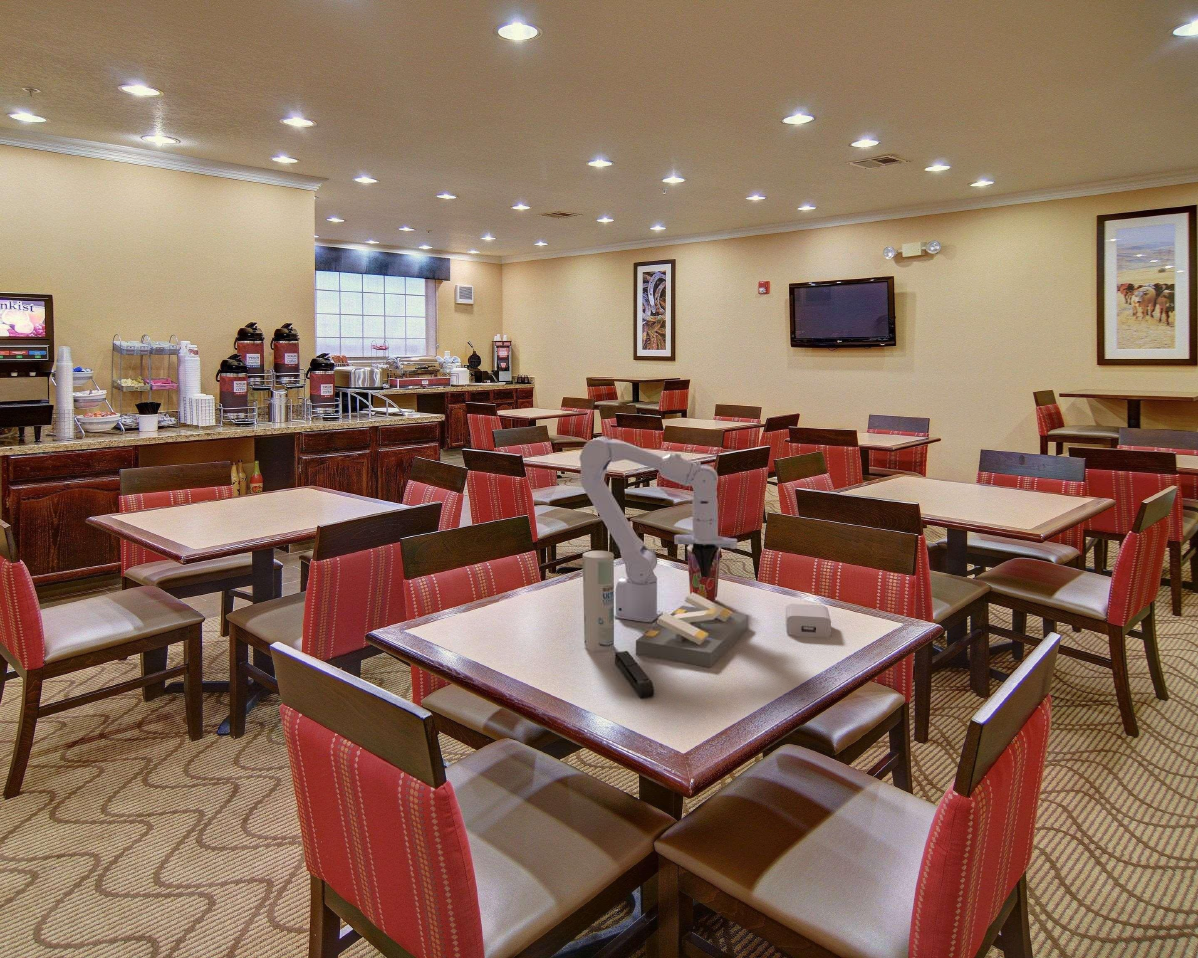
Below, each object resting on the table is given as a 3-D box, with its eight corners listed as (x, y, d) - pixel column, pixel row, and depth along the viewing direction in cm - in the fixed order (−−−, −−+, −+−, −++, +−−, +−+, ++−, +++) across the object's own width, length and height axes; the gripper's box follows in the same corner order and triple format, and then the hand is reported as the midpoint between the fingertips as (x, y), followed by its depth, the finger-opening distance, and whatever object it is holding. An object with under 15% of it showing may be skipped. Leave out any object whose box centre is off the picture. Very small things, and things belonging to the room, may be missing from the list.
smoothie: (725, 599, 192) (726, 521, 190) (711, 607, 185) (712, 527, 183) (695, 594, 197) (696, 518, 194) (681, 602, 190) (681, 524, 187)
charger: (825, 617, 178) (830, 638, 164) (784, 614, 180) (786, 636, 166) (825, 597, 177) (831, 617, 163) (785, 595, 179) (787, 615, 165)
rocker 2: (670, 624, 163) (668, 618, 163) (677, 619, 166) (675, 613, 166) (713, 619, 158) (711, 613, 158) (719, 613, 162) (718, 608, 162)
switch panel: (635, 654, 155) (635, 634, 154) (681, 617, 178) (682, 600, 177) (710, 667, 148) (710, 646, 147) (748, 627, 171) (748, 609, 170)
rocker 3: (684, 601, 169) (686, 596, 169) (690, 596, 173) (692, 591, 172) (724, 621, 165) (726, 616, 165) (730, 616, 169) (732, 611, 169)
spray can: (604, 653, 156) (603, 559, 153) (577, 648, 159) (576, 555, 156) (620, 644, 161) (619, 552, 158) (594, 638, 164) (593, 549, 162)
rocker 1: (656, 622, 155) (658, 617, 155) (663, 617, 159) (665, 611, 158) (700, 644, 151) (702, 639, 151) (706, 638, 155) (708, 633, 155)
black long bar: (654, 699, 134) (654, 683, 134) (640, 701, 134) (640, 685, 133) (626, 662, 151) (626, 648, 151) (613, 664, 151) (613, 649, 150)
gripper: (669, 519, 173) (669, 577, 175) (730, 523, 166) (730, 583, 168) (680, 514, 179) (681, 570, 181) (739, 518, 172) (739, 576, 174)
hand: (705, 576), depth 175 cm, fingers closed
